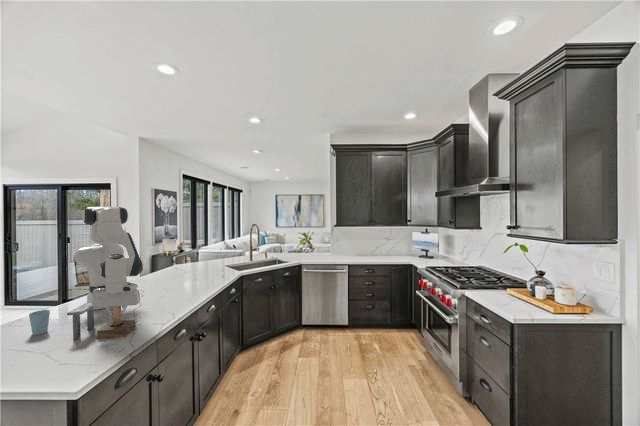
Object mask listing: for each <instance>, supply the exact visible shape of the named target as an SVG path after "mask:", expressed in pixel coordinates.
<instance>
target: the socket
mask: <svg viewBox="0 0 640 426" xmlns="http://www.w3.org/2000/svg"><path fill="white" fill-rule="evenodd" d="M136 322H137V321H136V319H126V320H121V324H120V325H117V326H113V320H112V321H108V322H107V323H106V324H104V325H103V326H102V327H100V328H98V329H97V330H96V334H97V335H96V336H97V340H104V339H115V338H123V337H124V338H125V337H127V336H129V334H130V333H131V332H132V331H133V330H134V329H135V328H136V327H137V324H136Z"/></svg>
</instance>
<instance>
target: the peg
mask: <svg viewBox="0 0 640 426" xmlns="http://www.w3.org/2000/svg"><path fill="white" fill-rule="evenodd" d="M112 311H113V316H112V321H113V326H117V325H120V324H121V321H122V315H120V311H122V306H114V307H112Z"/></svg>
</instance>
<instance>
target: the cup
mask: <svg viewBox="0 0 640 426" xmlns="http://www.w3.org/2000/svg"><path fill="white" fill-rule="evenodd" d="M50 313H51V310H50V309H43V310H42V309H40V310H37V311H32V312H30V313H29V314H28V318H29V322H30V328H31V332H32V335H33V336H39V335H43V334H46V333H47V332H48V329H49V321H50Z"/></svg>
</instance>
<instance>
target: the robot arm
mask: <svg viewBox="0 0 640 426" xmlns="http://www.w3.org/2000/svg"><path fill="white" fill-rule="evenodd" d="M81 218H82V219H81V220H82V221H83V223H84V224H85V225H89V226H91V227H90V228H91V229H90V230H91V231H90V239H91V241H92V242H93V243H95V244H98V245H97V246H96V245H94V246H86V247H81V248H78V249H77V250H76V251H75V252H74V254H73V258H74V261H75V262H76V264H78V265H80V266H82V267H83V268H84V269H85V270H86V272H87V273H88V276H89V277H88V278H89V288H88V290H89V291H88V294H87V295H86V303H92V307H93V308H94V311H95V310H102V309H103V310H104V309H105V310H106V311H107V313H108V316H110V317H111V316H112V317H113V307H114V306H121V311H120V315H121V316H123V315H125V314H126V313H125V312H126V309H127V308H128V307H129V306H137V305H138V304H139V303H140V302H141V294H140V290H139V289H138V287H139V286H138V285H139V284H137V283H132V282H129V281H128V279H127V277H137V276H139V275H141V273H142V272H143V270H144V269H143V268H144V264H143V261H142V259H141V257H140V256H139V252H138V249H137V247H136V245H135V242H134V240H133V238H132V235H131V234H130V232H127V231H126V230H125V229H124V228H123V225H124V224H126V223H127V222H128V219H129V213H128V210H127V208H125V207H123V206H122V207H121V206H118V207H117V206H89V207H85V208H84V209H83V211H82V214H81ZM124 248H125V250H126V252H127V255H128V258H125V257H126V256H125V255H124V254H125V250H124Z"/></svg>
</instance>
